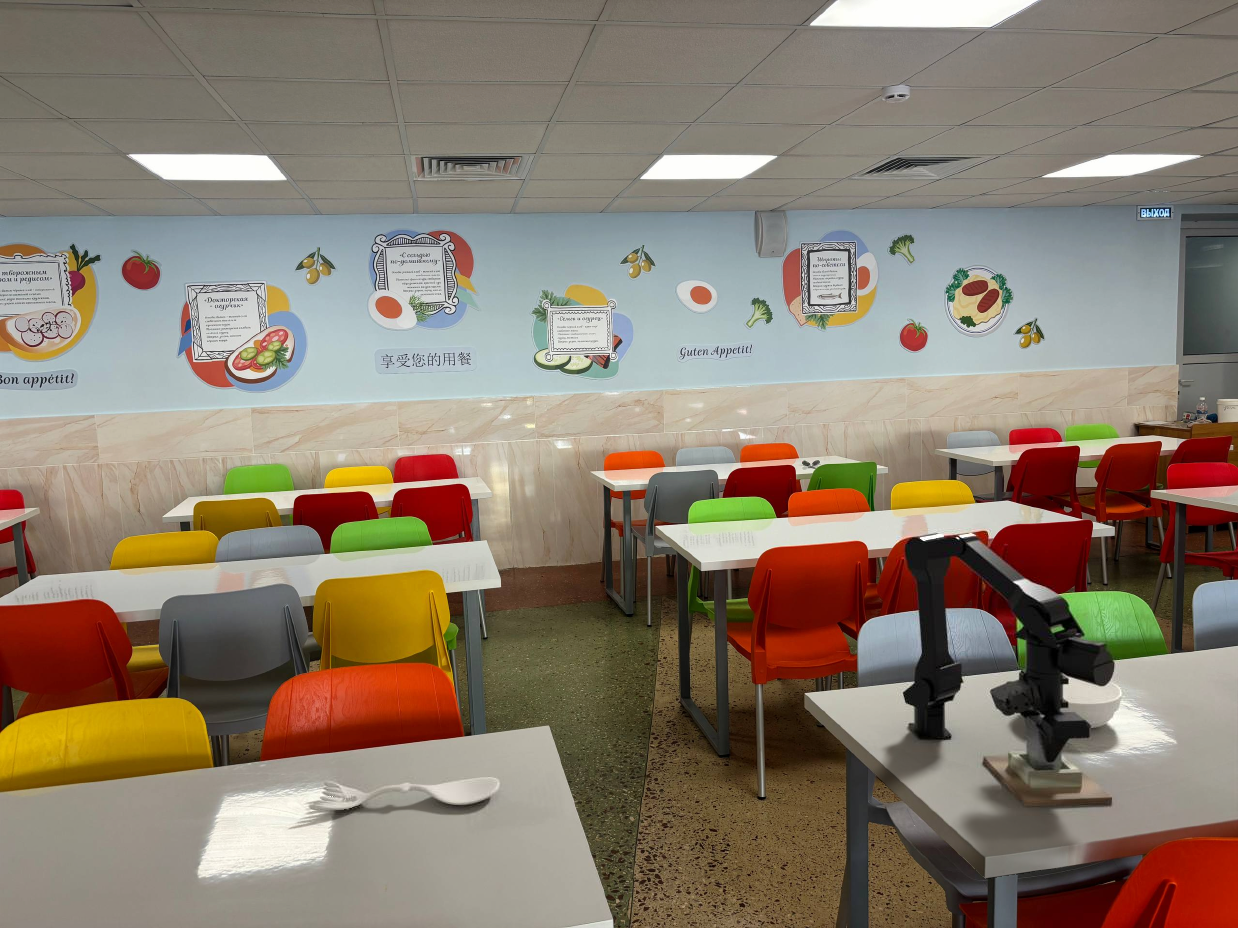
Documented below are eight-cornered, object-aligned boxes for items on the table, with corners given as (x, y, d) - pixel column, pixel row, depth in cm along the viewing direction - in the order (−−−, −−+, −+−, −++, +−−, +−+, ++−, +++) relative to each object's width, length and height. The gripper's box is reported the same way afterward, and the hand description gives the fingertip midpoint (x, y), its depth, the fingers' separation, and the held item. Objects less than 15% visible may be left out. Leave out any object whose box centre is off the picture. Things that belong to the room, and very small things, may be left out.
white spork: (325, 796, 149) (324, 778, 149) (502, 784, 150) (501, 766, 150) (309, 823, 140) (307, 803, 140) (497, 810, 141) (496, 790, 141)
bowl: (1122, 711, 168) (1123, 677, 167) (1120, 747, 153) (1121, 710, 152) (1023, 697, 178) (1024, 664, 177) (1012, 729, 162) (1012, 693, 162)
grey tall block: (1026, 765, 143) (1026, 715, 142) (1049, 764, 143) (1049, 714, 142) (1037, 775, 139) (1038, 725, 139) (1061, 775, 139) (1061, 724, 138)
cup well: (983, 761, 150) (983, 742, 149) (1060, 757, 149) (1060, 739, 149) (1025, 806, 134) (1025, 785, 133) (1112, 802, 133) (1112, 782, 133)
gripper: (973, 652, 149) (973, 734, 151) (1023, 690, 130) (1022, 784, 132) (1035, 649, 149) (1034, 732, 150) (1093, 687, 130) (1092, 781, 132)
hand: (1043, 755), depth 141 cm, fingers closed on grey tall block, 4 cm apart
